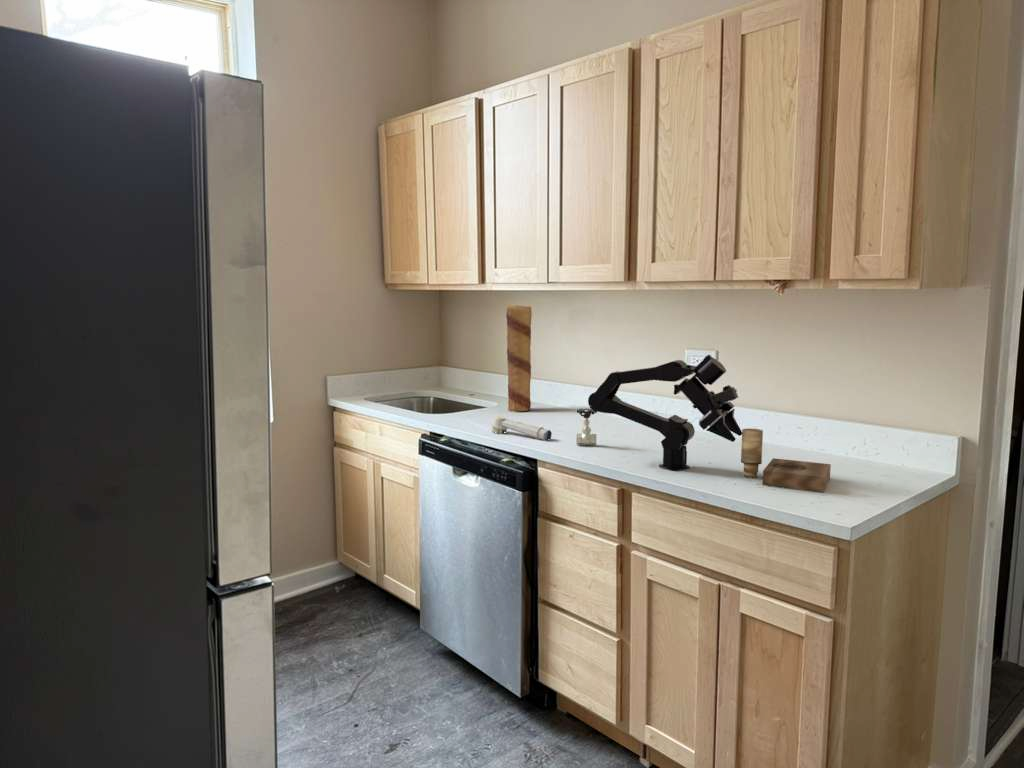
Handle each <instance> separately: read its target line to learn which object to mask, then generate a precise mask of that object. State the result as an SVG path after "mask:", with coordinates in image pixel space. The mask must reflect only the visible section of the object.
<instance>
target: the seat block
mask: <svg viewBox="0 0 1024 768" xmlns="http://www.w3.org/2000/svg"><path fill="white" fill-rule="evenodd" d="M831 466H832V465H831V464H830V463H823V462H815V461H814V462H813V461H802V460H793V459H784V458H775V457H773V458H772V459H771V460H770V461H769V463H768V464H767V465H766V467H765V468H764V469H763V470H762V483H761V484H762V486H764V485H768V486H767V487H772V486H775V487H774V488H781V487H784V488H783V489H789V488H790V489H789V490H798V491H799V490H800V491H807V492H814V493H825V491H826V489H827V486H828V484H829V482H830V480H831Z"/></svg>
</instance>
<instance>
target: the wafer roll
mask: <svg viewBox="0 0 1024 768" xmlns="http://www.w3.org/2000/svg"><path fill="white" fill-rule="evenodd" d="M532 314H533V313H532V307H531V306H525V305H508V306H507V307H506V315H505V316H506V328H507V330H506V332H507V335H506V339H507V344H506V347H507V349H506V356H507V360H506V361H507V382H508V383H507V397H508V398H507V399H508V402H507V403H508V408H507V409H508V410H507V411H509V410H510V412H512V411H517V412H516V413H519V412H528V411H530V410H531V406H532V405H531V404H532V401H531V381H532V380H531V378H532V377H531V376H532V364H531V343H532V342H531V339H532V335H531V334H532V326H531V325H532V317H533V316H532Z"/></svg>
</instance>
